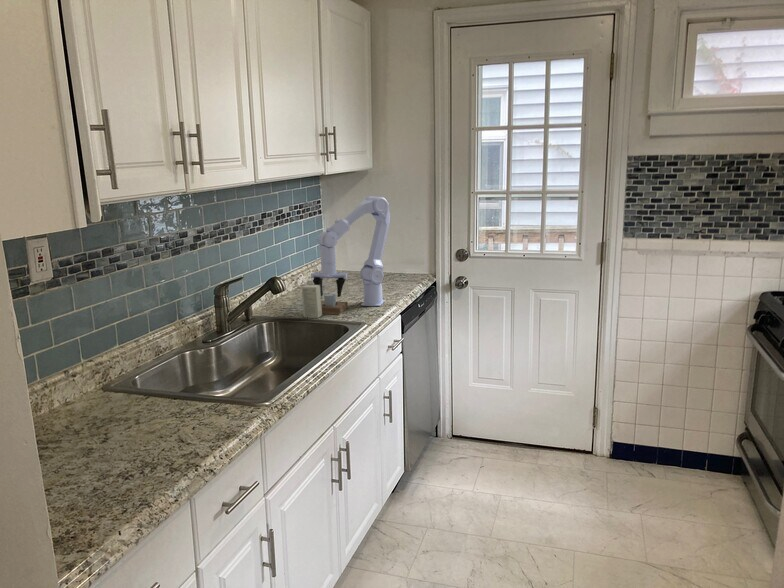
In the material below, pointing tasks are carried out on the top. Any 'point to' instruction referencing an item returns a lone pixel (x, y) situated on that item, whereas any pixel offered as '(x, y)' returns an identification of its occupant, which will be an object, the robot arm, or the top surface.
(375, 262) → the robot arm
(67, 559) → the top surface
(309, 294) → the skincare box
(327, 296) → the peg
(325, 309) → the walnut socket block
